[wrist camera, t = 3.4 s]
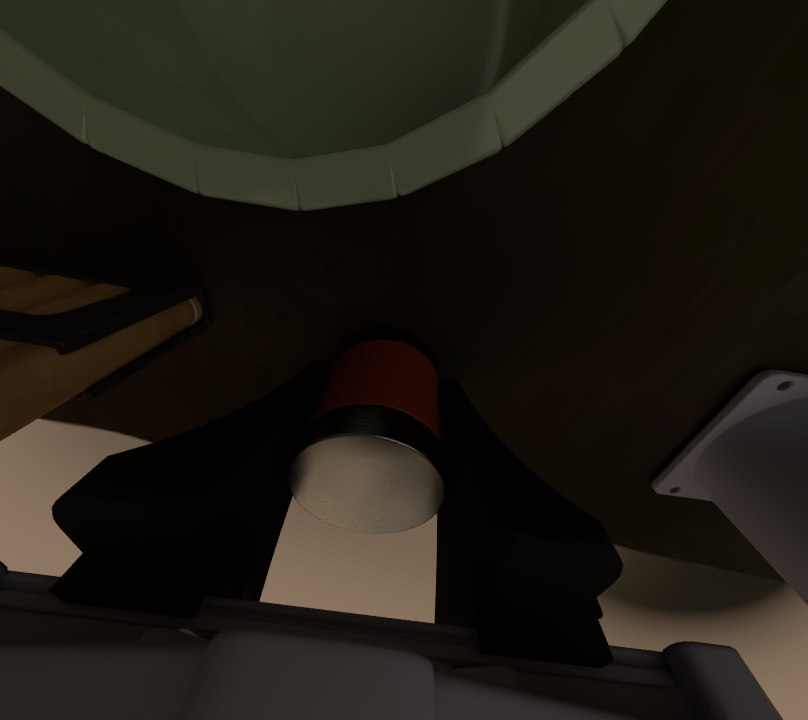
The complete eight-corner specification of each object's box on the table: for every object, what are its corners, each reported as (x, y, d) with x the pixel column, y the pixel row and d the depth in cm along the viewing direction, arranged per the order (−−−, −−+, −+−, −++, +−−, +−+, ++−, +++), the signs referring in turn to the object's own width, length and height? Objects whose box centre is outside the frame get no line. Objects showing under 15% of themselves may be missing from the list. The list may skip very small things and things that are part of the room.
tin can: (447, 334, 12) (464, 447, 7) (427, 414, 14) (430, 542, 9) (340, 318, 12) (278, 421, 7) (338, 401, 14) (290, 524, 9)
